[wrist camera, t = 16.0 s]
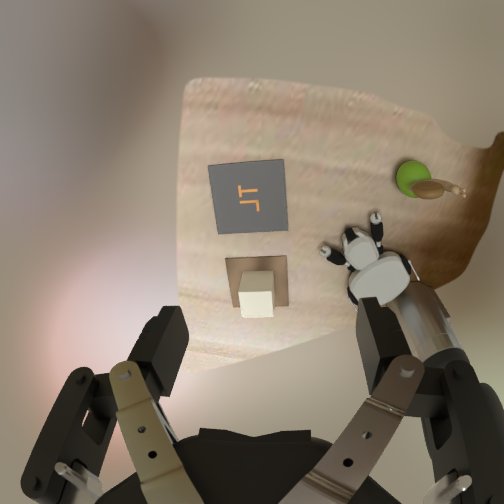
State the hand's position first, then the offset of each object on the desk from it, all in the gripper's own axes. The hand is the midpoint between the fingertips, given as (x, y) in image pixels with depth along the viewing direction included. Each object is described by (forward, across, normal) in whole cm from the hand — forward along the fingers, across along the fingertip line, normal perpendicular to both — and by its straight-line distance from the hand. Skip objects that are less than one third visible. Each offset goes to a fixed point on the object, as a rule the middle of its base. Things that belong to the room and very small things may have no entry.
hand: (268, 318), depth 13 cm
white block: (+32, +5, +20) cm, 38 cm away
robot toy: (+33, -14, +16) cm, 39 cm away
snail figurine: (+33, -20, +2) cm, 39 cm away
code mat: (+33, +5, +4) cm, 33 cm away
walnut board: (+32, +5, +19) cm, 38 cm away
